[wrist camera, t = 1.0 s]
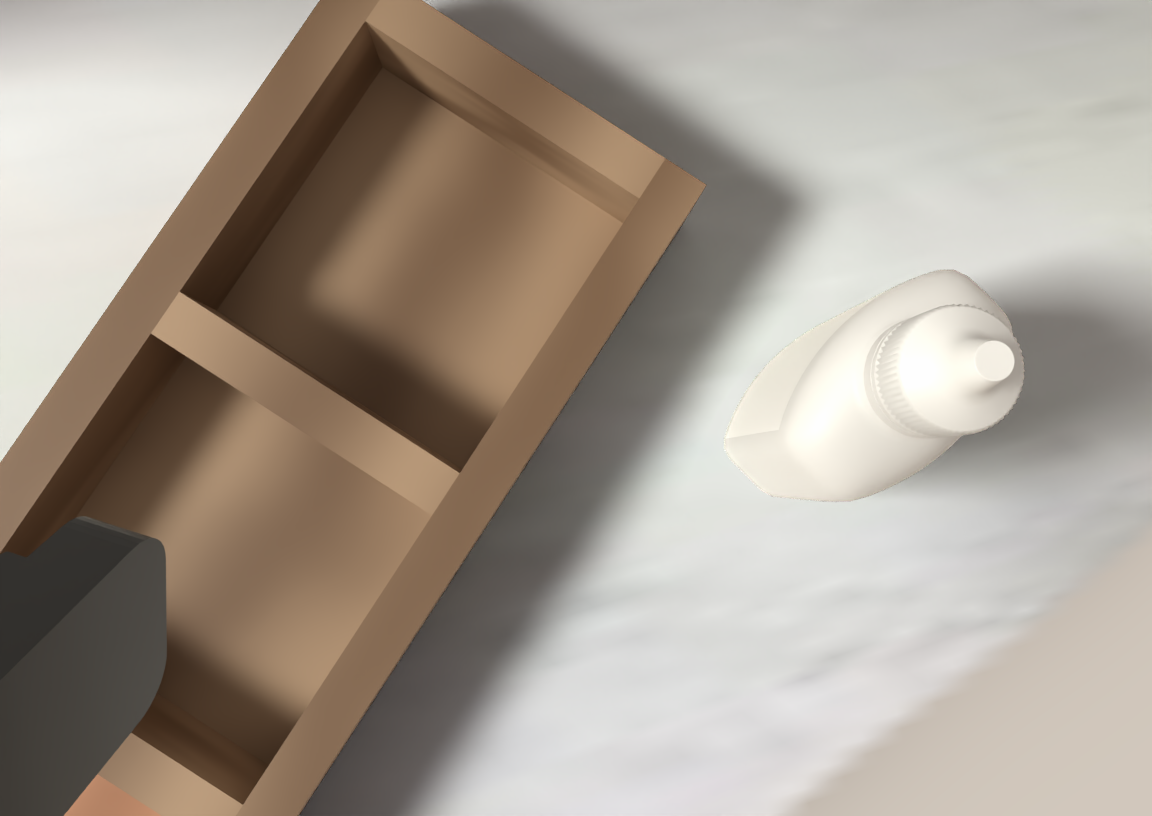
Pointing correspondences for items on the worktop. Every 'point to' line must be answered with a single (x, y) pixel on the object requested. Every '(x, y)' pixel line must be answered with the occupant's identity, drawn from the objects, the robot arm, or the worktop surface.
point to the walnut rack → (336, 383)
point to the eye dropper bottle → (878, 391)
